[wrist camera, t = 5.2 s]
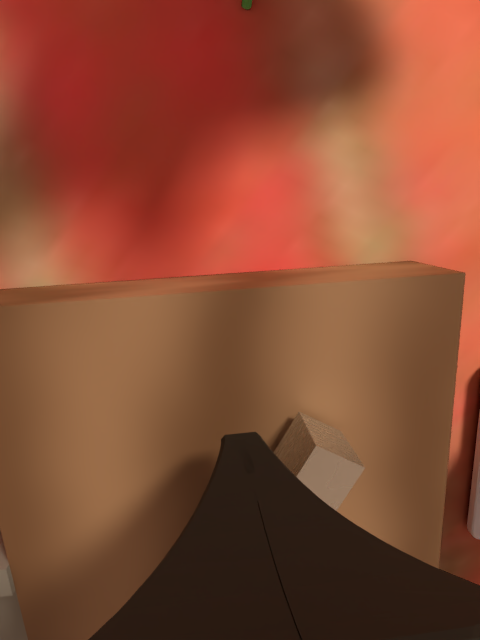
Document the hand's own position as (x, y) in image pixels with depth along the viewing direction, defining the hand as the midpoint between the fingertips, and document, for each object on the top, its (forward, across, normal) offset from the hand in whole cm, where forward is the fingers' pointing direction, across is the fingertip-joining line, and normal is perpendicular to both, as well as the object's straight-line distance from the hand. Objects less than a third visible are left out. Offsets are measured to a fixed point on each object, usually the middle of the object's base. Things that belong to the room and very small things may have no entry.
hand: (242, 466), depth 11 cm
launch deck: (+4, 0, +6) cm, 7 cm away
